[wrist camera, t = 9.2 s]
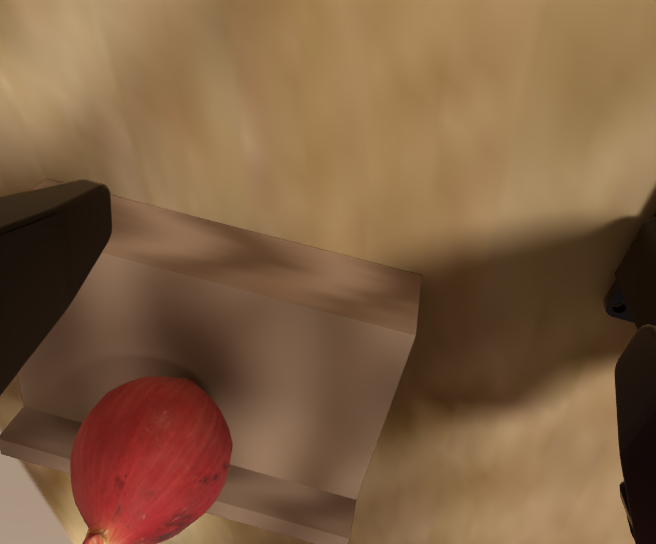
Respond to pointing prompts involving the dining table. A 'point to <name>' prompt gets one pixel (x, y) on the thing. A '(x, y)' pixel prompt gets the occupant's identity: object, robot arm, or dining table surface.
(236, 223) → the dining table surface
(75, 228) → the robot arm
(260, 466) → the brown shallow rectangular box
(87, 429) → the onion
